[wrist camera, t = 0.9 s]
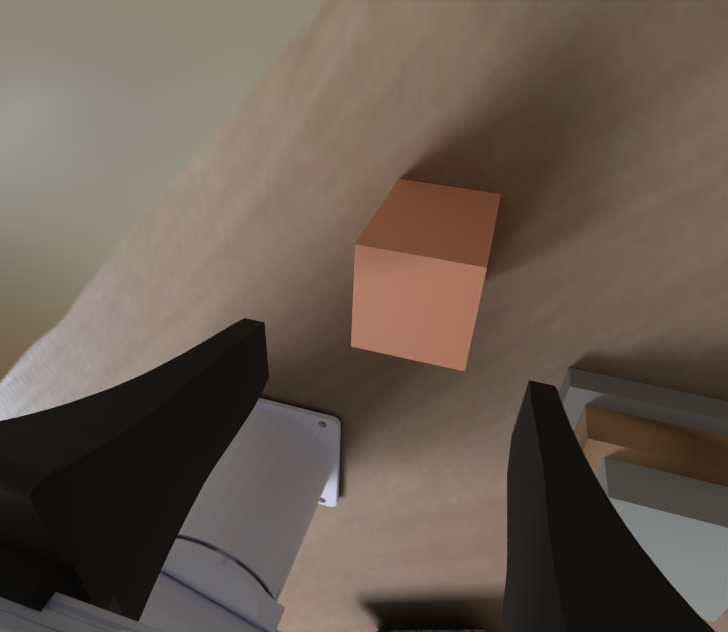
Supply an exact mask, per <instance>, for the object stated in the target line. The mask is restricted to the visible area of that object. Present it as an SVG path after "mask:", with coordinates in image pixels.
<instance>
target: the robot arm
mask: <svg viewBox="0 0 728 632" xmlns="http://www.w3.org/2000/svg"><path fill="white" fill-rule="evenodd" d="M268 378H269V374H268V362H267V349H266V337H265V324H264V322H260V321H255V320H251V319H246V318H244V319H242V320H240V321H238V322H237V323H235V324H233V325H231V326H230V327H228V328H226V329H224V330H223V331H221V332H219V333H218V334H216V335H214V336H213V337H211V338H209V339H208V340H206V341H204V342H202V343H201V344H199V345H197V346H196V347H194V348H192V349H190V350H189V351H187V352H185V353H183V354H182V355H180V356H178V357H176V358H174V359H172V360H170V361H168V362H166V363H164V364H162V365H161V366H159V367H157V368H155V369H153V370H151V371H149V372H147V373H145V374H143V375H140V376H138V377H136V378H134V379H132V380H129V381H127V382H125V383H122V384H120V385H117V386H115V387H113V388H110V389H108V390H105V391H102V392H99V393H96V394H94V395H91V396H88V397H85V398H82V399H79V400H77V401H74V402H71V403H68V404H64V405H61V406H58V407H54V408H51V409H48V410H44V411H40V412H36V413H33V414H29V415H25V416H21V417H17V418H12V419H8V420H3V421H0V632H281V631H279V630H277V627H278V624H279V622H280V619H281V617H282V614H283V612H284V609H285V608H284V607H283V606H282V605H280V604H279V603H277V601H278V599H279V596H280V594H281V591H282V589H283V587H284V584H285V582H286V579H287V577H288V575H289V572H290V570H291V567H292V565H293V563H294V560H295V558H296V556H297V553H298V551H299V548H300V546H301V544H302V541H303V539H304V536H305V534H306V532H307V529H308V527H309V524H310V522H311V520H312V517H313V515H314V512H315V510H316V508H317V505H318V503H319V504H322V505H326V506H329V507H335V506H336V505H337V503H338V500H339V471H340V438H341V423H340V421H339V419H337V418H336V417H334V416H330V415H326V414H322V413H318V412H314V411H310V410H306V409H302V408H298V407H294V406H290V405H286V404H282V403H278V402H274V401H270V400H266V399H262V398H259V397H260V395H261V393H262V391H263V389H264V387H265V385H266V382H267V380H268ZM322 421H323V422H322ZM324 422H325V423H324ZM501 632H715V631H714V630H713V629H712V628H711V627H710V626H709V625H708V624H707V623H706V622H705V621H704V620H703V619H702V618H701V617H700V616H699V615H698V614H697V612H696V611H695V610H694V609H693V608H692V607H691V606H690V605H689V604H688V602H687V601H686V600H685V599H684V598H683V597H682V596H681V595H680V593H679V592H678V591H677V590H676V589H675V588H674V587H673V586H672V584H671V583H670V582H669V581H668V580H667V578H666V577H665V576H664V575H663V573H662V572H661V571H660V570H659V568H658V567H657V566H656V565H655V563H654V562H653V561H652V560H651V558H650V557H649V556H648V555H647V553H646V552H645V551H644V549H643V548H642V547H641V546H640V544H639V543H638V541H637V540H636V539H635V537H634V536H633V534H632V533H631V532H630V530H629V529H628V527H627V526H626V525H625V523H624V521H623V520H622V518H621V517H620V515H619V514H618V512H617V511H616V509H615V508H614V506H613V505H612V503H611V501H610V500H609V498H608V497H607V495H606V493H605V491H604V490H603V488H602V486H601V485H600V483H599V481H598V479H597V477H596V476H595V474H594V472H593V470H592V468H591V466H590V464H589V462H588V461H587V459H586V457H585V454H584V452H583V450H582V448H581V446H580V444H579V442H578V440H577V438H576V436H575V433H574V431H573V429H572V427H571V424H570V422H569V419H568V417H567V415H566V412H565V409H564V407H563V404H562V401H561V399H560V396H559V393H558V390H557V389H556V387H555V386H552V385H548V384H543V383H539V382H534V381H530V380H529V383H528V386H527V389H526V393H525V396H524V399H523V402H522V405H521V409H520V412H519V415H518V418H517V421H516V424H515V428H514V431H513V434H512V438H511V446H510V454H509V463H508V472H507V574H506V585H505V595H504V605H503V615H502V624H501Z"/></svg>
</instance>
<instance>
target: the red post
mask: <svg viewBox="0 0 728 632" xmlns="http://www.w3.org/2000/svg"><path fill="white" fill-rule="evenodd" d="M500 196H501V194H498V193H491V192H485V191H478V190H471V189H465V188H458V187H451V186H444V185H438V184H431V183H424V182H418V181H411V180H404V179H398V181H397V182H396V184H395V185H394V187H393V188H392V190H391V191H390V193H389V194H388V196H387V197H386V199H385V200H384V202H383V203H382V205H381V206H380V208H379V209H378V211H377V212H376V214H375V215H374V217H373V218H372V220H371V221H370V223H369V224H368V226H367V227H366V229H365V230H364V232H363V233H362V235H361V236H360V238H359V239H358V241H357V242H356V244H355V260H354V284H353V308H352V332H351V347H356V348H360V349H365V350H370V351H374V352H379V353H383V354H388V355H392V356H397V357H401V358H406V359H410V360H415V361H419V362H424V363H429V364H433V365H438V366H442V367H447V368H451V369H456V370H460V371H465V368H466V364H467V359H468V354H469V350H470V345H471V340H472V336H473V331H474V326H475V322H476V317H477V312H478V308H479V303H480V298H481V294H482V289H483V284H484V280H485V275H486V270H487V265H488V260H489V255H490V249H491V244H492V239H493V233H494V228H495V223H496V217H497V212H498V207H499V202H500Z"/></svg>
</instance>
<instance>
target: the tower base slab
mask: <svg viewBox="0 0 728 632" xmlns="http://www.w3.org/2000/svg"><path fill="white" fill-rule="evenodd" d="M559 396H560V399H561V401H562V404H563V407H564V409H565V412H566V415H567V417H568V419H569V422H570V424H571V427H572V429H573V431H574V430H575V427H576V425H577V423H578V420H579V418H580V416H581V413H582V411H583V408H584V406H585V405H589V406H594V407H598V408H602V409H607V410H611V411H616V412H620V413H625V414H629V415H633V416H638V417H642V418H647V419H651V420H655V421H660V422H664V423H669V424H673V425H677V426H682V427H686V428H691V429H695V430H700V431H704V432H708V433H713V434H717V435H722V436H726V437H728V401H725V400H720V399H716V398H711V397H706V396H701V395H697V394H692V393H687V392H682V391H678V390H673V389H668V388H664V387H659V386H654V385H649V384H645V383H640V382H635V381H630V380H626V379H621V378H616V377H611V376H607V375H602V374H597V373H592V372H588V371H583V370H578V369H573V368H569V369H568V371H567V374H566V377H565V379H564V382H563V385H562V387H561V390H560V393H559Z"/></svg>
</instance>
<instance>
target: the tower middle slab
mask: <svg viewBox="0 0 728 632" xmlns="http://www.w3.org/2000/svg"><path fill="white" fill-rule="evenodd" d="M574 433H575V436H576V438H577V440H578V442H579V444H580V446H581V448H582V450H583V452H584V454H585V457H586V459H587V461H588V462H589V464H590V466H591V468H592V470H593V472H594V474H595V476H596V473H597V471H598V469H599V467H600V465H601V463H602V461H603V459H604V457H606V458H610V459H614V460H618V461H622V462H627V463H631V464H635V465H639V466H643V467H648V468H652V469H656V470H660V471H664V472H668V473H672V474H677V475H681V476H685V477H689V478H693V479H697V480H701V481H705V482H710V483H714V484H718V485H722V486H726V487H728V437H726V436H722V435H717V434H713V433H708V432H704V431H700V430H695V429H691V428H686V427H682V426H677V425H673V424H669V423H664V422H660V421H655V420H651V419H647V418H642V417H638V416H633V415H629V414H625V413H620V412H616V411H611V410H607V409H602V408H598V407H594V406H589V405H585V406H584V408H583V411H582V413H581V416H580V418H579V420H578V423H577V425H576V427H575V430H574Z"/></svg>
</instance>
